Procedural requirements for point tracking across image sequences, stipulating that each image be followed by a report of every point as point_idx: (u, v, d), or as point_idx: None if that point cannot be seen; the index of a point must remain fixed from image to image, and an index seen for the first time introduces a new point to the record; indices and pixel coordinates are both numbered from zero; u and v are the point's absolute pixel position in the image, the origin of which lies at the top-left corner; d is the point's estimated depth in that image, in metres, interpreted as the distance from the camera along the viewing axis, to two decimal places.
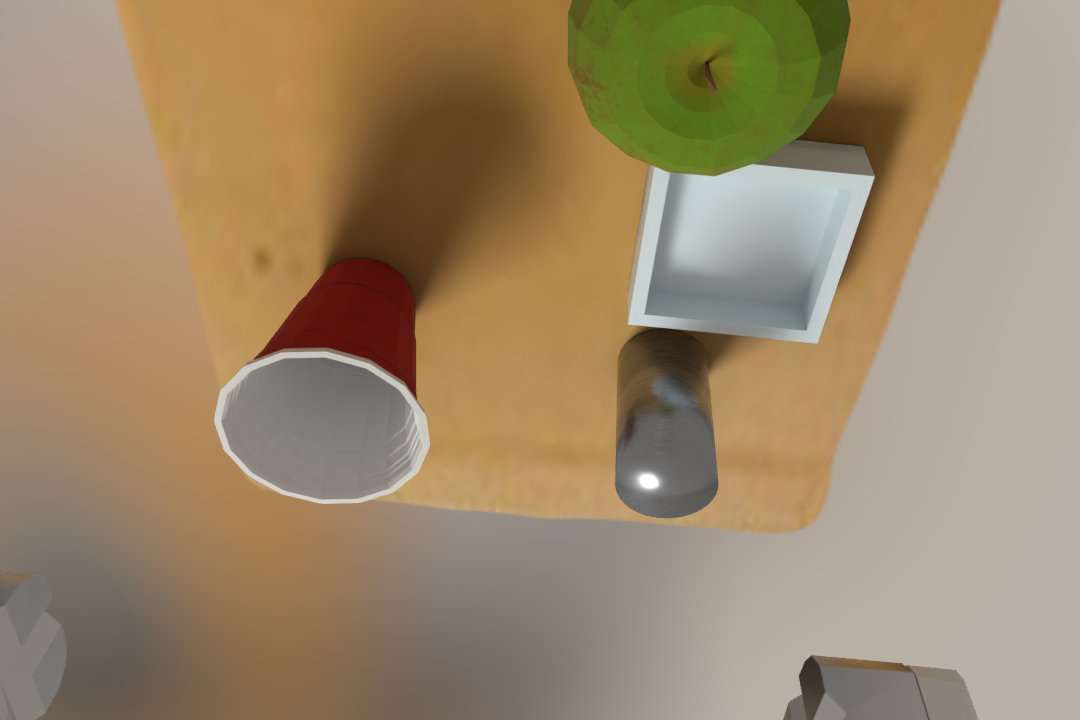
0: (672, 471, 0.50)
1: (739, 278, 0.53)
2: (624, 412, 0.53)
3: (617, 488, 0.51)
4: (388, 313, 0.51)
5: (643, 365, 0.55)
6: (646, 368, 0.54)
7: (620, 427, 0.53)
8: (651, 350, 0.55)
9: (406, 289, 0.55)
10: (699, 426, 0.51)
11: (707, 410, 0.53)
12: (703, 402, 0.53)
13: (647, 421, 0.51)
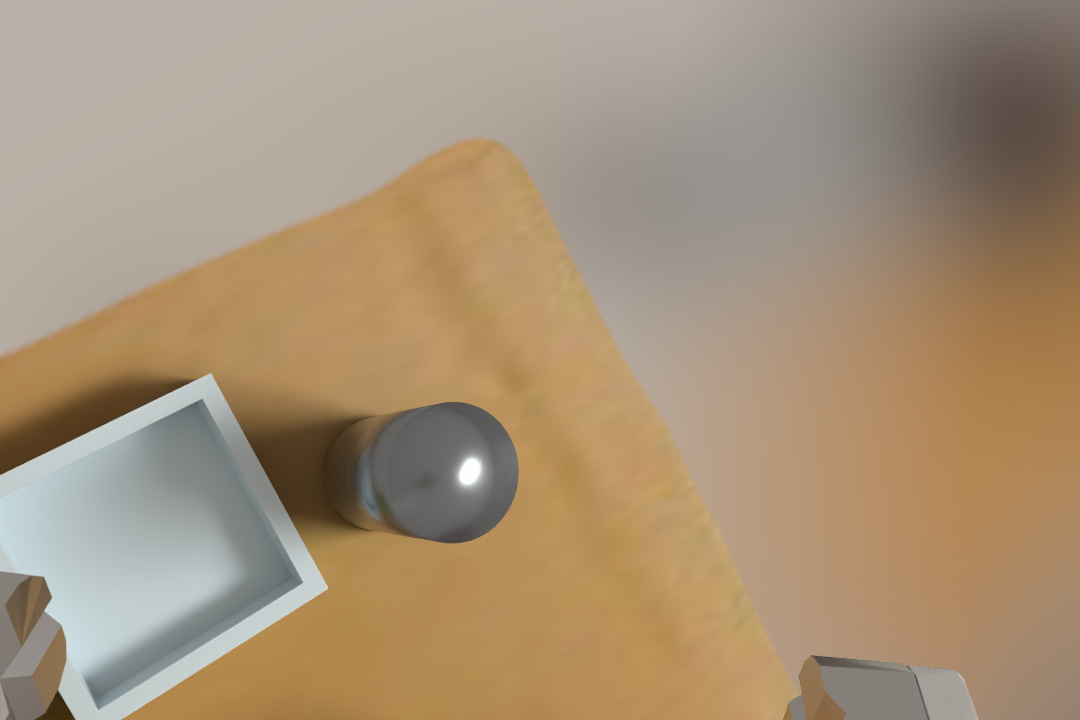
0: (430, 483, 0.36)
1: (205, 495, 0.41)
2: None
3: (498, 519, 0.38)
4: None
5: (371, 527, 0.42)
6: (370, 526, 0.42)
7: None
8: (355, 521, 0.43)
9: None
10: (369, 468, 0.38)
11: (361, 446, 0.40)
12: (356, 457, 0.40)
13: (401, 531, 0.38)
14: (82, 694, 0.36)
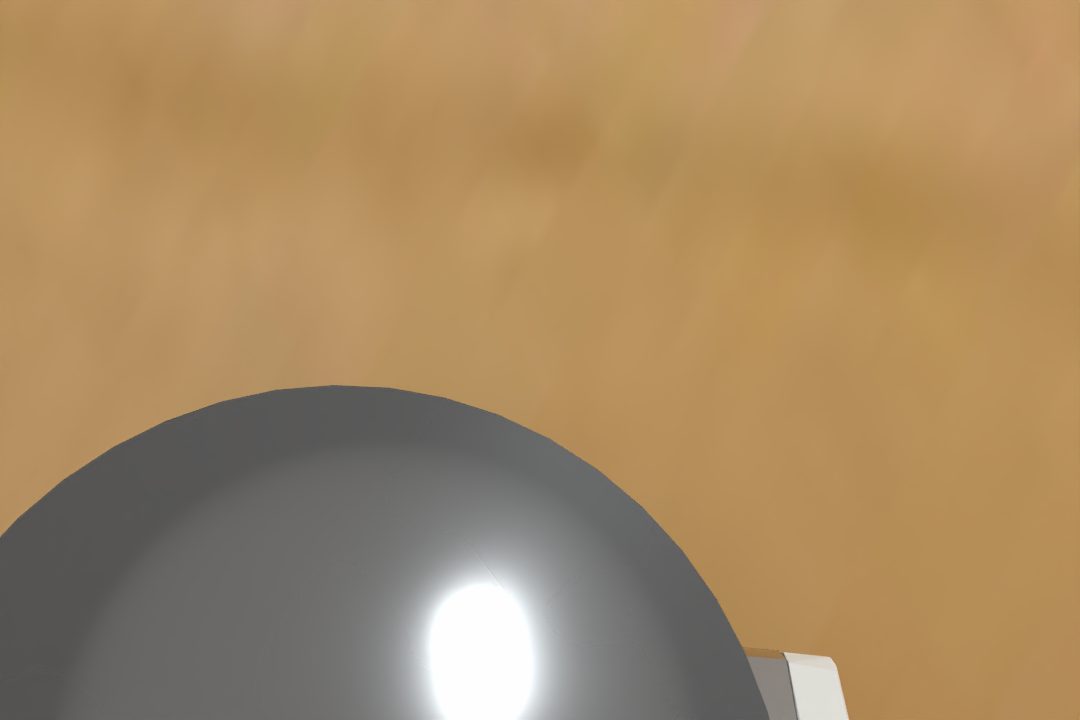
0: None
1: None
2: None
3: None
4: None
5: None
6: None
7: None
8: None
9: None
10: None
11: None
12: None
13: None
14: None
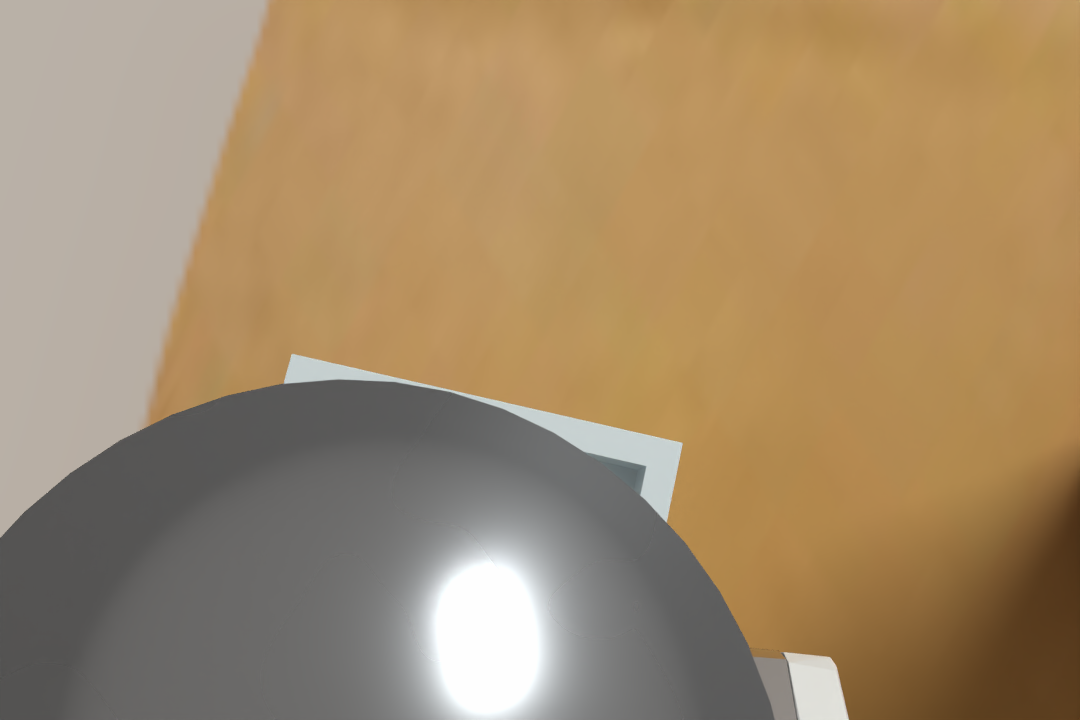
0: None
1: None
2: None
3: None
4: None
5: None
6: None
7: None
8: None
9: None
10: None
11: None
12: None
13: None
14: None
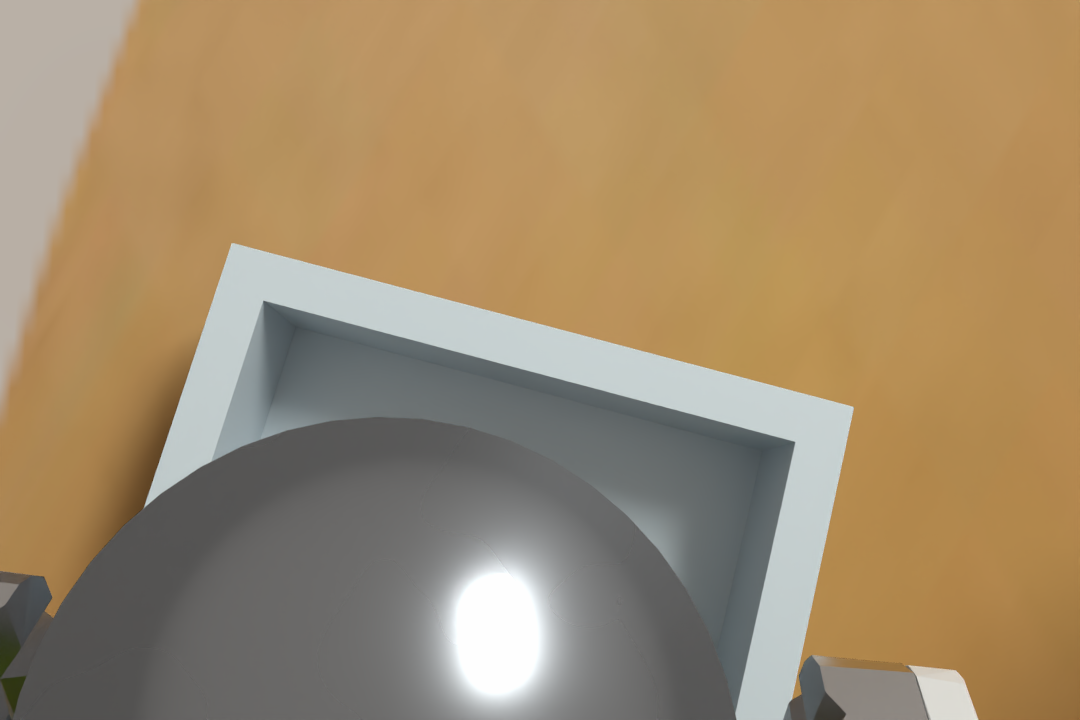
0: None
1: None
2: None
3: None
4: None
5: None
6: None
7: None
8: None
9: None
10: None
11: None
12: None
13: None
14: None
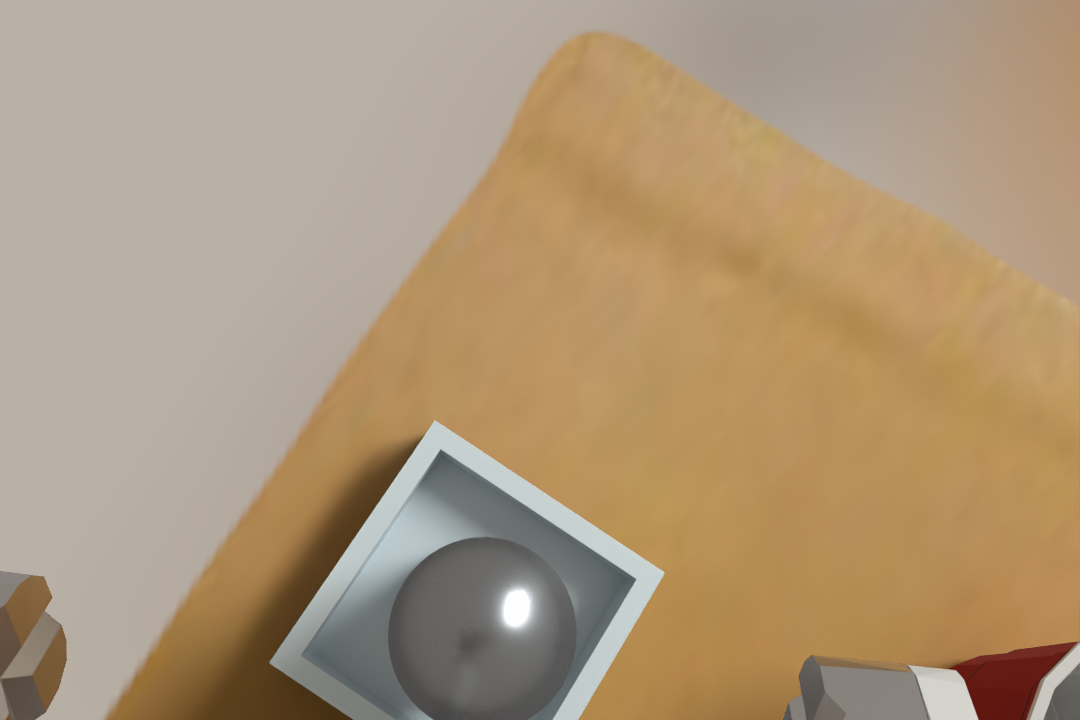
0: (459, 664, 0.27)
1: None
2: None
3: (569, 659, 0.28)
4: None
5: None
6: None
7: None
8: None
9: None
10: None
11: None
12: None
13: None
14: None
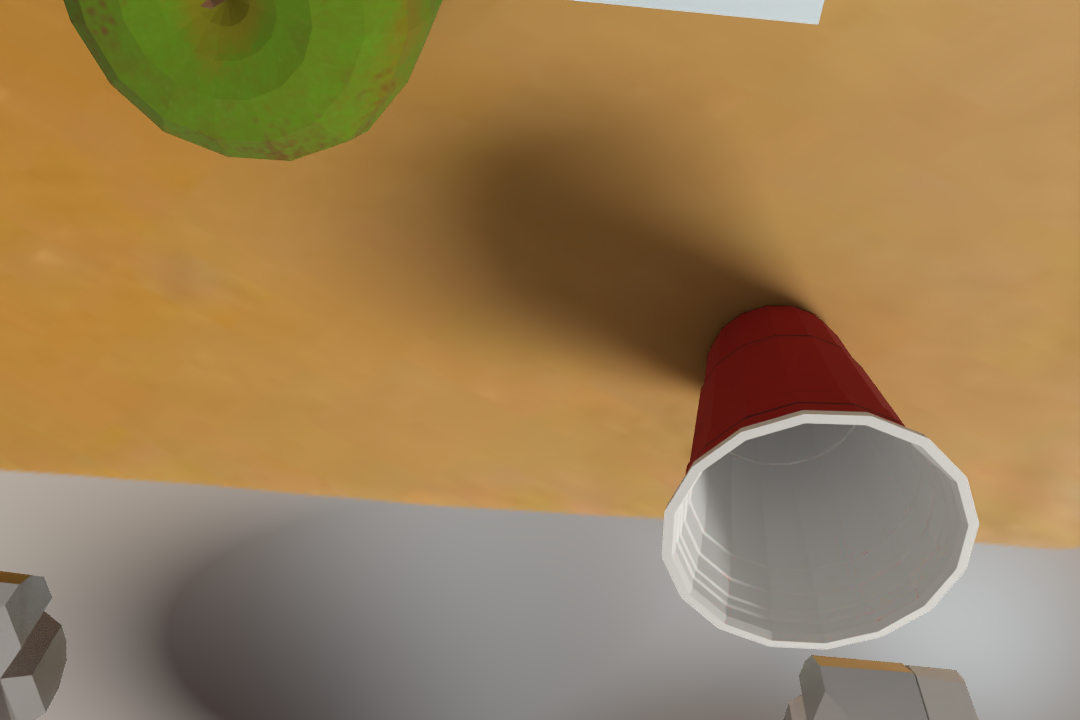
0: None
1: None
2: None
3: None
4: (728, 373, 0.37)
5: None
6: None
7: None
8: None
9: (751, 318, 0.40)
10: None
11: None
12: None
13: None
14: None
